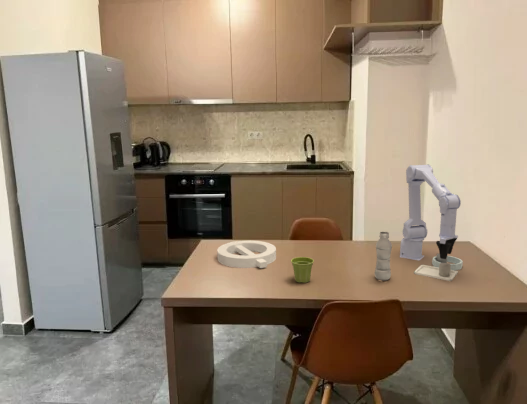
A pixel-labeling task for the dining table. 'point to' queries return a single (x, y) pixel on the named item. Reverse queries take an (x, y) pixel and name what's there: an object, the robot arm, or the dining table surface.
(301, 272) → the plant pot
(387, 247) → the plastic bottle
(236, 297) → the dining table surface
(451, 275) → the parts tray
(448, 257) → the bowl
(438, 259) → the slate capsule
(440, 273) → the grey rounded cylinder
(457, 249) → the dining table surface
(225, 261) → the white circle with bar
